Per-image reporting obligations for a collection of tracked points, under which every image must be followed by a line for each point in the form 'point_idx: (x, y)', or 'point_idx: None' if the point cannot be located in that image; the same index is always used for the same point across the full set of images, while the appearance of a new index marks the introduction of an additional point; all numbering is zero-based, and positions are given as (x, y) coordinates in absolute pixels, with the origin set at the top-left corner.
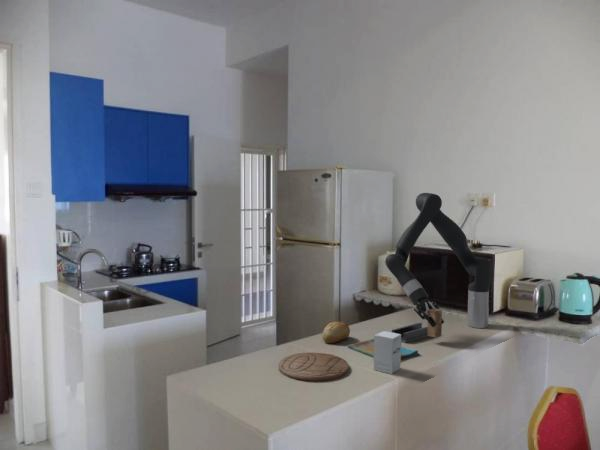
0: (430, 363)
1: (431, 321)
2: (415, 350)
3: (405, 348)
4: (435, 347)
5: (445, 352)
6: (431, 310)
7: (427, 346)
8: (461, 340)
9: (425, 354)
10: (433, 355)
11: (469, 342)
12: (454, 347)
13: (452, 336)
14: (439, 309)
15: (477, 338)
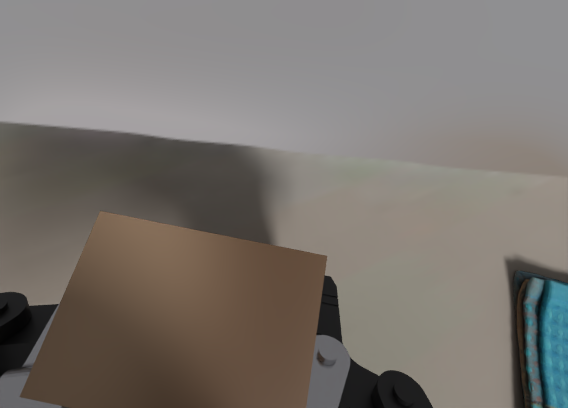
0: (560, 181)
1: (336, 303)
2: (558, 288)
3: (550, 375)
4: (329, 261)
5: (368, 188)
6: (300, 350)
7: (345, 307)
8: (101, 200)
9: (477, 252)
10: (456, 214)
11: (119, 157)
12: (258, 184)
13: (36, 273)
14: (111, 252)
15: (13, 149)
